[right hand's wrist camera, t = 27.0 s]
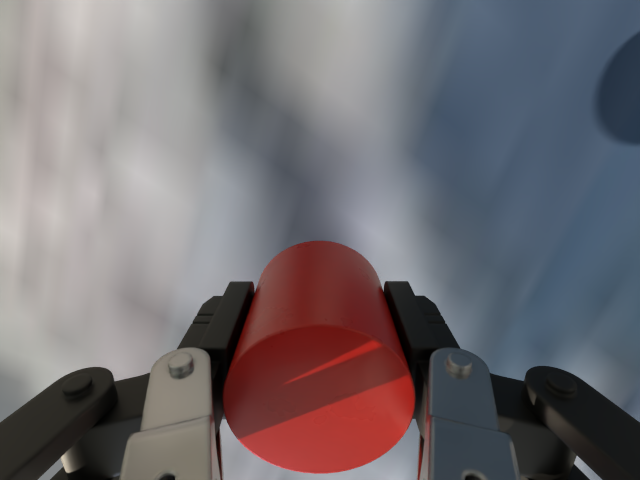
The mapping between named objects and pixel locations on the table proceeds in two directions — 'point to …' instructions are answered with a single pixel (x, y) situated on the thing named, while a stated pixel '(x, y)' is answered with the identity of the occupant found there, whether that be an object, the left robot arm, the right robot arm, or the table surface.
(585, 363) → the table surface
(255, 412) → the canister
